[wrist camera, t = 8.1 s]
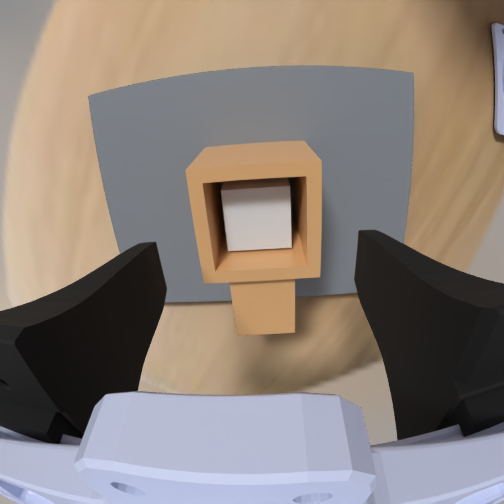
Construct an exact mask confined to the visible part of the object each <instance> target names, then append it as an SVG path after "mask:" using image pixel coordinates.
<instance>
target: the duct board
mask: <svg viewBox="0 0 504 504" xmlns="http://www.w3.org/2000/svg"><path fill="white" fill-rule="evenodd" d="M88 98H89V105H90V113H91V120H92V127H93V133H94V139H95V145H96V151H97V156H98V161H99V167H100V172H101V177H102V182H103V186H104V191H105V195H106V200H107V204H108V209H109V213H110V217H111V221H112V225H113V229H114V233H115V237H116V240H117V244H118V248H119V251H120V254H121V253H123V252H124V251H126V250H127V249H129V248H131V247H133V246H135V245H137V244H139V243H144V242H156V243H157V248H158V252H159V257H160V261H161V265H162V269H163V274H164V278H165V282H166V286H167V293H166V298H165V302H204V301H231V300H232V297H231V290H230V283H207V284H204V281H203V276H202V270H201V265H200V259H199V253H198V248H197V242H196V236H195V230H194V224H193V217H192V211H191V205H190V198H189V191H188V185H187V178H186V171H185V170H186V169H187V168H188V166H189V165H190V164H191V163H192V162H193V161H194V160H195V158H196V157H197V156H198V155H199V154H200V153H201V152H202V150H203V149H204V148H205V147H213V146H224V145H235V144H248V143H263V142H281V141H305V142H306V143H307V145H308V146H309V147H310V148H311V149H312V150H313V151H314V152H315V154H316V155H317V156H318V157H319V158H320V159H321V161H322V234H321V270H320V277H315V278H300V279H295V297H307V296H321V295H335V294H348V293H357V289H356V285H355V281H354V275H355V266H356V255H357V244H358V232H359V230H378V231H380V232H382V233H384V234H386V235H388V236H390V237H392V238H394V239H396V240H397V241H399V242H401V243H404V236H405V229H406V222H407V213H408V205H409V195H410V184H411V172H412V157H413V135H414V75H413V73H411V72H403V71H395V70H385V69H375V68H362V67H345V66H269V67H251V68H238V69H227V70H218V71H209V72H201V73H194V74H187V75H181V76H174V77H168V78H163V79H157V80H152V81H147V82H142V83H137V84H133V85H128V86H124V87H120V88H116V89H112V90H108V91H104V92H100V93H96V94H93V95H89V96H88ZM220 183H221V195H222V204H223V213H224V222H225V230H226V239H227V247H228V251H241V250H259V249H277V248H292V240H291V221H295V186H294V177H282V178H264V179H249V180H235V181H223V182H220Z"/></svg>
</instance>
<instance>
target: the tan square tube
mask: <svg viewBox="0 0 504 504" xmlns="http://www.w3.org/2000/svg"><path fill="white" fill-rule="evenodd" d="M185 171H186V178H187V185H188V191H189V198H190V205H191V211H192V217H193V224H194V230H195V236H196V242H197V248H198V253H199V259H200V265H201V270H202V276H203V281H204V284H207V283H230V290H231V297H232V304H233V312H234V319H235V326H236V332H237V335H261V334H280V333H295V279H300V278H315V277H320V270H321V234H322V161H321V159H320V158H319V157H318V156H317V155H316V154H315V152H314V151H313V150H312V149H311V148H310V147H309V146H308V145H307V143H306V142H305V141H281V142H263V143H248V144H235V145H224V146H213V147H205V148H204V149H203V150H202V152H201V153H200V154H199V155H198V156H197V157H196V158H195V160H194V161H193V162H192V163H191V164H190V165H189V166H188V168H187V169H186V170H185ZM282 177H294V186H295V221H291V240H292V248H277V249H259V250H241V251H228V247H227V239H226V230H225V222H224V213H223V204H222V195H221V183H220V182H223V181H235V180H249V179H264V178H282Z"/></svg>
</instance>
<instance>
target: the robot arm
mask: <svg viewBox="0 0 504 504" xmlns="http://www.w3.org/2000/svg"><path fill="white" fill-rule="evenodd" d="M502 30H503V32H504V25H501V24H499V23H494V24H492V37H493V49H494V64H495V122H494V128H495V131H496V133H498V134H500V135H504V34H503V33H502ZM354 281H355V285H356V289H357V293H358V296H359V300H360V303H361V305H362V308H363V310H364V312H365V315H366V317H367V320H368V322H369V324H370V327H371V329H372V331H373V334H374V336H375V339H376V341H377V344H378V346H379V349H380V352H381V355H382V358H383V362H384V365H385V370H386V374H387V377H388V382H389V387H390V392H391V397H392V402H393V408H394V415H395V421H396V429H397V439H398V440H397V441H393V442H388V443H383V444H377V445H370V444H369V439H368V435H367V430H366V426H365V422H364V417H363V413H362V409H361V407H359V406H357V405H355V404H353V403H351V402H349V401H347V400H346V399H344V398H342V397H340V396H337V395H334V394H318V393H305V392H294V393H277V394H251V395H199V394H173V393H156V392H143V391H138V386H139V382H140V377H141V372H142V368H143V364H144V361H145V357H146V355H147V352H148V349H149V346H150V344H151V341H152V338H153V336H154V333H155V330H156V328H157V325H158V322H159V320H160V317H161V314H162V311H163V307H164V303H165V298H166V293H167V286H166V282H165V278H164V274H163V269H162V265H161V261H160V257H159V252H158V248H157V243H156V242H144V243H139V244H137V245H135V246H133V247H131V248H129V249H127V250H126V251H124V252H123V253H121V254H119V255H118V256H116V257H115V258H113V259H112V260H110V261H109V262H107V263H106V264H104V265H102V266H101V267H99V268H98V269H96V270H94V271H93V272H91V273H89V274H88V275H86V276H85V277H83V278H81V279H79V280H78V281H76V282H74V283H72V284H70V285H68V286H66V287H64V288H62V289H60V290H58V291H56V292H54V293H51V294H49V295H47V296H44V297H42V298H39V299H37V300H35V301H32V302H29V303H26V304H23V305H20V306H17V307H14V308H11V309H7V310H3V311H0V494H1V495H3V496H4V497H6V498H8V499H10V500H12V501H14V502H15V503H17V504H498V503H500V502H502V501H503V500H504V284H503V283H498V282H494V281H489V280H486V279H483V278H480V277H476V276H473V275H470V274H467V273H464V272H461V271H459V270H456V269H454V268H451V267H449V266H446V265H444V264H442V263H439V262H437V261H435V260H433V259H431V258H429V257H427V256H425V255H423V254H421V253H419V252H417V251H416V250H414V249H412V248H410V247H408V246H406V245H405V244H403V243H401V242H399V241H397V240H396V239H394V238H392V237H390V236H388V235H386V234H384V233H382V232H380V231H378V230H359V232H358V244H357V255H356V266H355V275H354Z"/></svg>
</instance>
